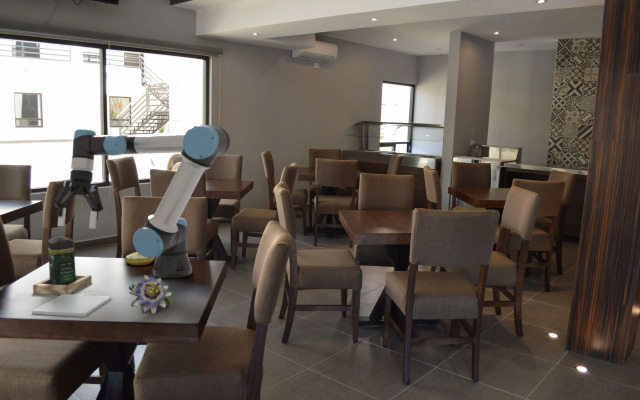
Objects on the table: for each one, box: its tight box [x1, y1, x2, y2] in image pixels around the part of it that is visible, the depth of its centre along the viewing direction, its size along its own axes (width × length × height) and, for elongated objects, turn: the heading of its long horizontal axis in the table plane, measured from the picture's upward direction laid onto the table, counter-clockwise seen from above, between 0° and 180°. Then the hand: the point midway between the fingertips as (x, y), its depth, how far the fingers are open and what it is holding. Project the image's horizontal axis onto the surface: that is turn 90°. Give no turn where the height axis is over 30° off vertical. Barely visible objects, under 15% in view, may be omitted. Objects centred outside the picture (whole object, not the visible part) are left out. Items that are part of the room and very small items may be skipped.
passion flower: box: [128, 274, 173, 315], centre depth 167 cm, size 13×12×14 cm
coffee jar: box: [47, 235, 76, 285], centre depth 185 cm, size 10×8×19 cm
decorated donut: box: [125, 251, 155, 266], centre depth 225 cm, size 11×12×4 cm
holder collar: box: [32, 273, 92, 296], centre depth 187 cm, size 13×15×3 cm
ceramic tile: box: [31, 293, 112, 318], centre depth 168 cm, size 17×17×1 cm
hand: (77, 227), depth 192 cm, fingers open, 13 cm apart
